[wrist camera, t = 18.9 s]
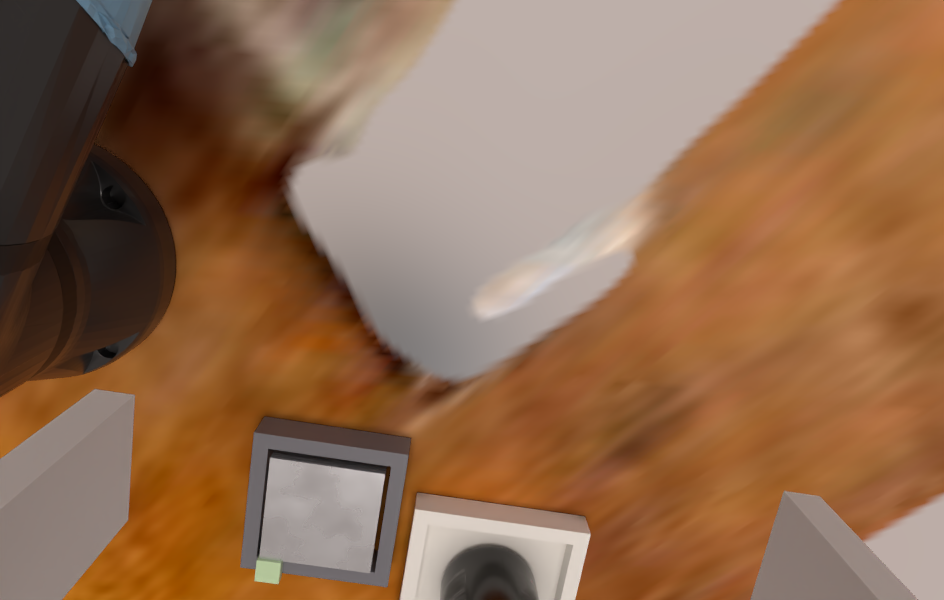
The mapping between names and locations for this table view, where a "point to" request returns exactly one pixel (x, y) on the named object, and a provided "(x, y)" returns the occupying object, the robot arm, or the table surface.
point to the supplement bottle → (488, 576)
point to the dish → (493, 543)
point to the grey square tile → (321, 511)
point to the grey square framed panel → (329, 445)
